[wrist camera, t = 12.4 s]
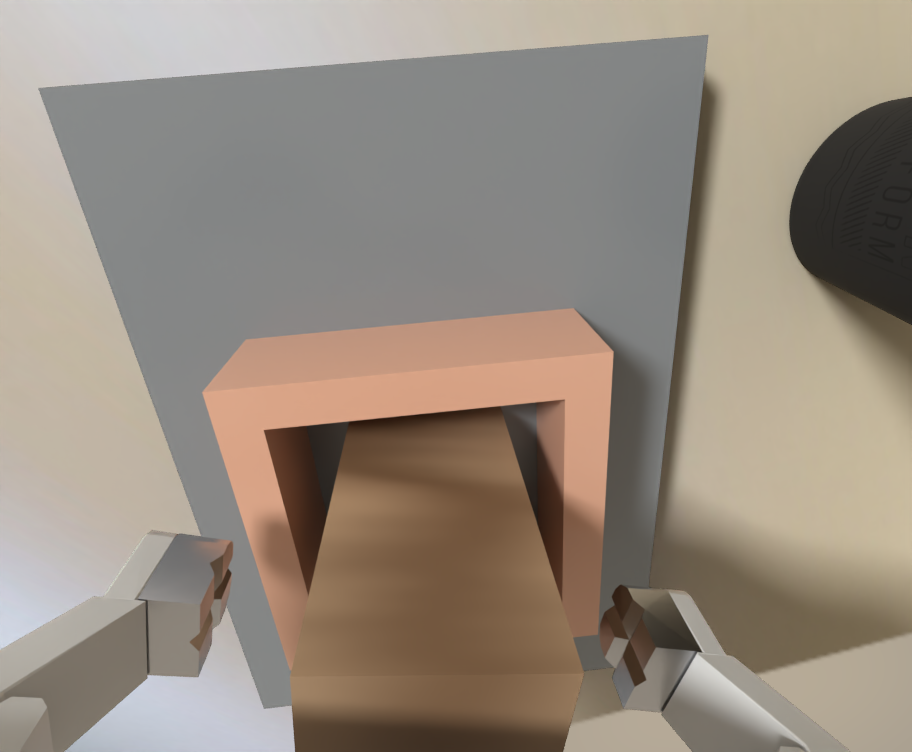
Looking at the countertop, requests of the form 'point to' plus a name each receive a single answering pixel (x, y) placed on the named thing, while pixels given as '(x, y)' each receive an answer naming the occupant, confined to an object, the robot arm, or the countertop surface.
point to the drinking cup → (861, 208)
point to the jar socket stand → (400, 288)
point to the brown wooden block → (433, 600)
